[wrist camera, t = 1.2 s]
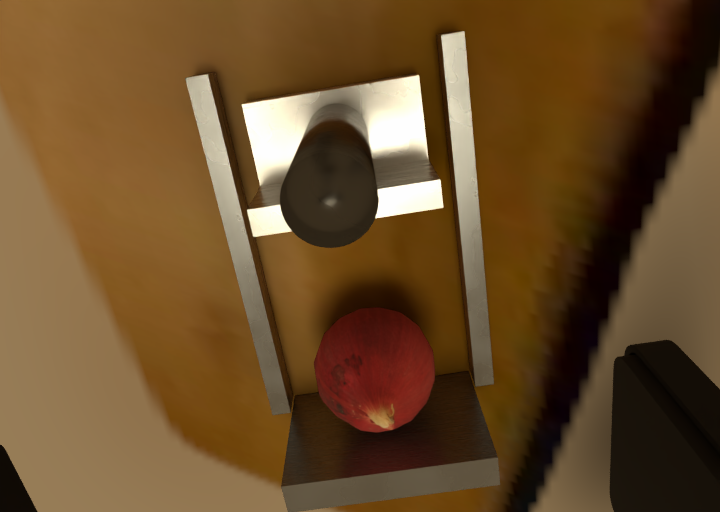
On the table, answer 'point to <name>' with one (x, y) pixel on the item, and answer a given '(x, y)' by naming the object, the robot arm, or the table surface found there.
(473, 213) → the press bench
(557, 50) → the table surface
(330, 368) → the pomegranate
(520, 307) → the table surface
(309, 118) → the carriage
